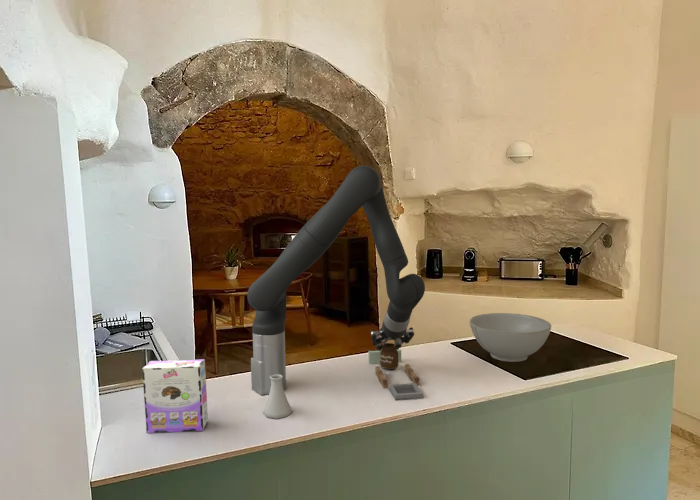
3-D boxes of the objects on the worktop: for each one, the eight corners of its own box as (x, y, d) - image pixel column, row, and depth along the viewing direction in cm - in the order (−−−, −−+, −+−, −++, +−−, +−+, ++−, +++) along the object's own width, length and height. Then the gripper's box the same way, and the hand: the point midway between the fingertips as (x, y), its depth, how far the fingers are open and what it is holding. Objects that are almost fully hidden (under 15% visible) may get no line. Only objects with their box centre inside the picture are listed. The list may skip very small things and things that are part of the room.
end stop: (401, 362, 171) (401, 350, 170) (369, 364, 169) (369, 352, 169) (400, 360, 172) (400, 349, 172) (368, 362, 171) (368, 351, 170)
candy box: (209, 421, 128) (206, 358, 126) (203, 432, 122) (199, 366, 121) (153, 422, 128) (150, 359, 126) (145, 433, 122) (141, 367, 120)
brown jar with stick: (385, 362, 169) (385, 326, 167) (402, 365, 165) (402, 329, 164) (376, 367, 164) (376, 330, 162) (393, 370, 160) (393, 333, 159)
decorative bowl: (453, 355, 177) (453, 321, 176) (497, 340, 194) (498, 309, 193) (522, 375, 157) (523, 337, 155) (565, 357, 174) (566, 322, 172)
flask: (278, 405, 137) (277, 369, 136) (297, 412, 133) (296, 375, 132) (257, 414, 132) (256, 377, 131) (276, 422, 127) (275, 383, 126)
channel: (419, 385, 150) (419, 377, 149) (383, 388, 148) (383, 380, 148) (408, 371, 161) (408, 364, 161) (375, 374, 160) (375, 366, 160)
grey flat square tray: (423, 398, 141) (423, 393, 140) (395, 400, 139) (395, 395, 139) (415, 387, 148) (415, 382, 148) (388, 389, 147) (388, 384, 147)
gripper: (417, 309, 156) (407, 336, 169) (371, 311, 154) (364, 338, 167) (421, 330, 151) (411, 356, 164) (374, 332, 149) (367, 359, 162)
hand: (387, 347), depth 166 cm, fingers open, 5 cm apart
